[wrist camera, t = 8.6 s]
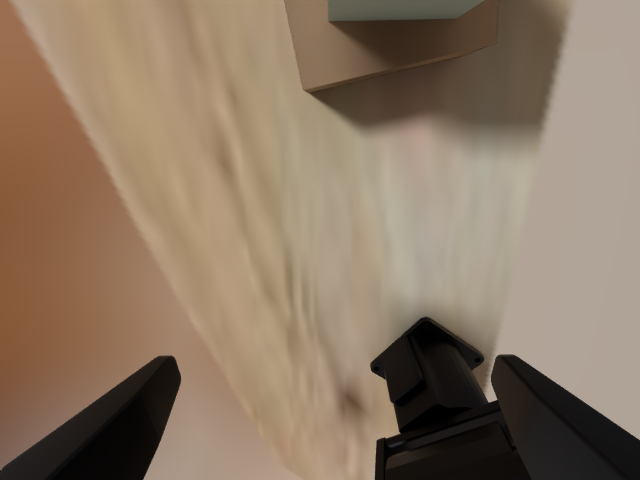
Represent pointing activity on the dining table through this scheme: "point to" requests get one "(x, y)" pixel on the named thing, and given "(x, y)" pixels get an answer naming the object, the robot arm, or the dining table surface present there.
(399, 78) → the dining table surface
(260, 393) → the dining table surface
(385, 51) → the tan square slab
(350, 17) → the sage cube
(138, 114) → the dining table surface
